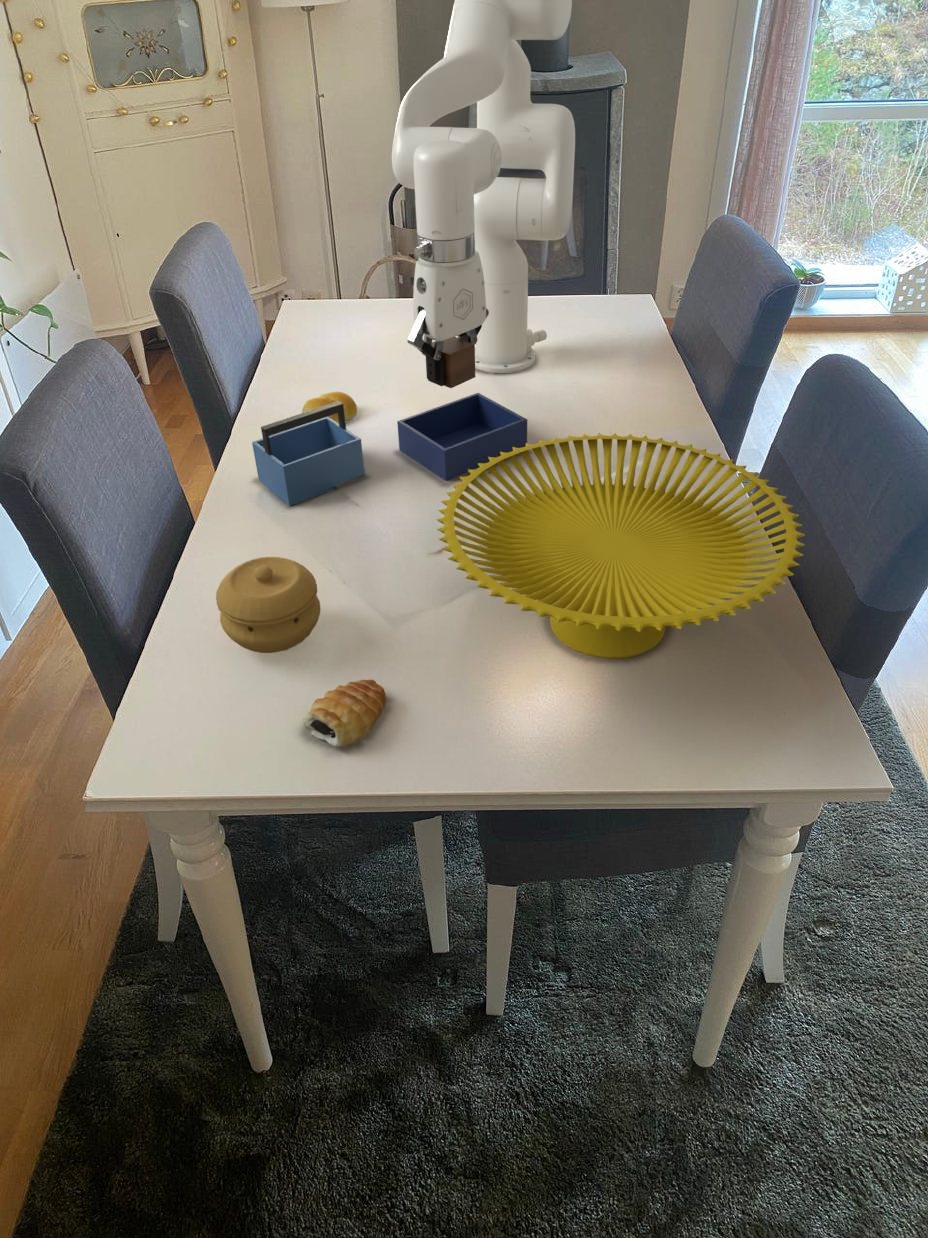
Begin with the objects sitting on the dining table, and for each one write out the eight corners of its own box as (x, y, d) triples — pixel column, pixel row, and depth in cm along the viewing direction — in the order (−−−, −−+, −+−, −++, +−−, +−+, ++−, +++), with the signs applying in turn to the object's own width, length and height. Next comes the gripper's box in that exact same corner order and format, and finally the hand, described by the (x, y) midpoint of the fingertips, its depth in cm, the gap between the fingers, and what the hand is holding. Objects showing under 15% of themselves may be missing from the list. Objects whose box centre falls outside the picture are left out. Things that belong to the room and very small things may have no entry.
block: (475, 377, 135) (475, 343, 132) (451, 388, 133) (449, 354, 130) (451, 367, 138) (450, 334, 135) (426, 378, 136) (424, 345, 132)
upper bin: (332, 453, 149) (324, 391, 143) (365, 477, 143) (358, 413, 136) (258, 480, 143) (247, 416, 137) (289, 506, 137) (278, 440, 130)
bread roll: (366, 415, 160) (364, 393, 157) (325, 433, 155) (323, 411, 152) (334, 401, 164) (332, 379, 162) (294, 418, 159) (291, 396, 157)
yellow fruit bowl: (806, 569, 122) (831, 466, 112) (739, 788, 93) (765, 674, 84) (516, 506, 135) (517, 410, 126) (381, 679, 107) (369, 572, 98)
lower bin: (478, 423, 156) (478, 392, 153) (527, 451, 148) (527, 419, 145) (399, 453, 149) (397, 421, 145) (445, 484, 141) (444, 450, 137)
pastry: (356, 682, 107) (353, 657, 104) (403, 706, 104) (401, 680, 101) (299, 732, 101) (294, 706, 98) (347, 758, 98) (344, 732, 95)
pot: (221, 615, 117) (206, 549, 111) (315, 598, 119) (305, 532, 113) (230, 676, 108) (213, 607, 102) (331, 656, 110) (321, 587, 104)
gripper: (418, 269, 117) (426, 404, 129) (511, 236, 126) (510, 365, 138) (378, 256, 121) (389, 388, 133) (471, 225, 131) (473, 351, 142)
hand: (451, 375), depth 135 cm, fingers closed on block, 5 cm apart
